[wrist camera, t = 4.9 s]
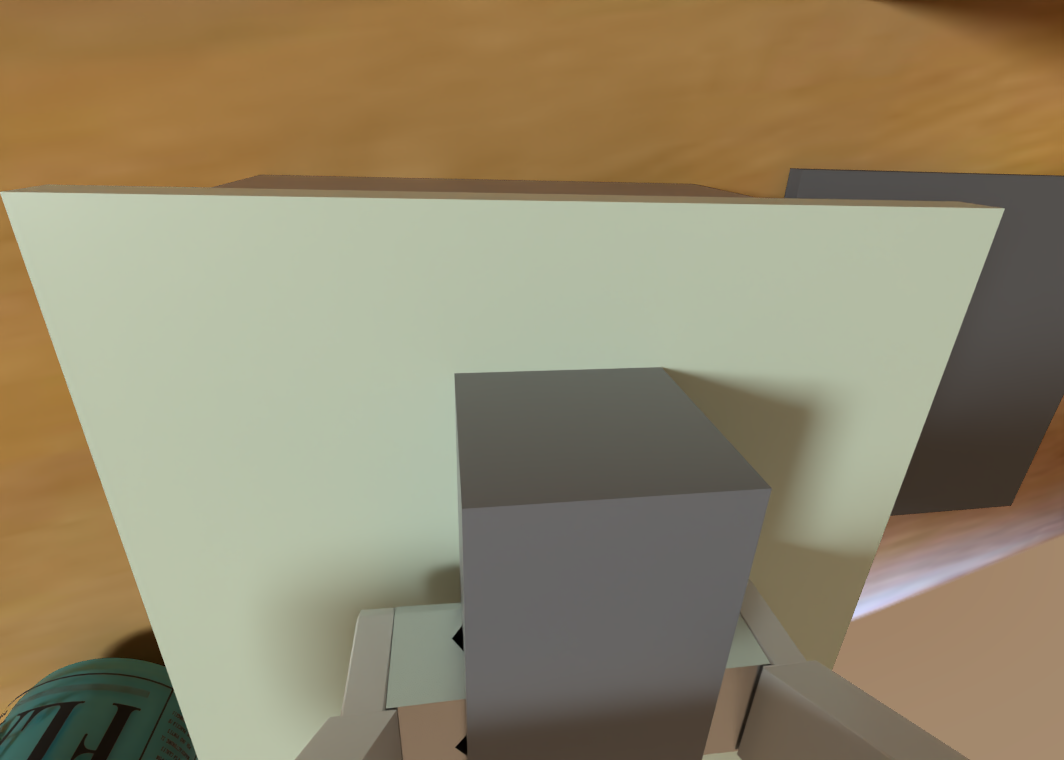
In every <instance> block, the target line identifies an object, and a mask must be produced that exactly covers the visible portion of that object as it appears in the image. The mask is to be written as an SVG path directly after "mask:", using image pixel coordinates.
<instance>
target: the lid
mask: <svg viewBox="0 0 1064 760" xmlns="http://www.w3.org/2000/svg"><path fill="white" fill-rule="evenodd" d="M0 194H1V196H2V199H3V202H4V205H5V208H6V211H7V214H8V216H9V219H10V222H11V225H12V228H13V231H14V234H15V237H16V239H17V242H18V245H19V248H20V251H21V254H22V257H23V259H24V262H25V265H26V268H27V271H28V274H29V277H30V279H31V282H32V285H33V288H34V291H35V294H36V297H37V300H38V302H39V305H40V308H41V311H42V314H43V317H44V320H45V322H46V325H47V328H48V331H49V334H50V337H51V340H52V342H53V345H54V348H55V351H56V354H57V357H58V360H59V363H60V365H61V368H62V371H63V374H64V377H65V380H66V383H67V385H68V388H69V391H70V394H71V397H72V400H73V403H74V405H75V408H76V411H77V414H78V417H79V420H80V423H81V426H82V428H83V431H84V434H85V437H86V440H87V443H88V446H89V448H90V451H91V454H92V457H93V460H94V463H95V466H96V468H97V471H98V474H99V477H100V480H101V483H102V486H103V489H104V491H105V494H106V497H107V500H108V503H109V506H110V509H111V511H112V514H113V517H114V520H115V523H116V526H117V529H118V531H119V534H120V537H121V540H122V543H123V546H124V549H125V552H126V554H127V557H128V560H129V563H130V566H131V569H132V572H133V574H134V577H135V580H136V583H137V586H138V589H139V592H140V594H141V597H142V600H143V603H144V606H145V609H146V612H147V615H148V617H149V620H150V623H151V626H152V629H153V632H154V635H155V637H156V640H157V643H158V646H159V649H160V652H161V655H162V657H163V660H164V663H165V666H166V669H167V672H168V675H169V678H170V680H171V683H172V686H173V689H174V692H175V695H176V698H177V700H178V703H179V706H180V709H181V712H182V715H183V718H184V720H185V723H186V726H187V729H188V732H189V735H190V738H191V741H192V743H193V746H194V749H195V752H196V755H197V758H198V760H295V759H296V757H297V756H298V755H299V754H300V752H301V751H302V750H303V749H304V747H305V746H306V745H307V744H308V743H309V741H310V740H311V739H312V738H313V736H314V735H315V734H316V733H317V731H318V730H319V729H320V728H321V727H322V725H323V724H324V723H325V722H326V720H327V719H328V718H329V717H334V716H340V715H341V709H342V704H343V698H344V692H345V686H346V680H347V674H348V669H349V663H350V657H351V651H352V645H353V639H354V633H355V628H356V622H357V618H358V616H359V614H360V611H361V610H366V609H381V608H396V607H402V606H418V605H433V604H448V603H462V624H463V651H464V670H465V692H466V727H467V735H466V739H467V760H742V759H741V758H740V757H739V756H738V755H737V752H738V751H735V752H726V753H716V754H707V755H703V754H704V750H705V746H706V742H707V738H708V735H709V731H710V727H711V723H712V719H713V715H714V711H715V707H716V703H717V700H718V696H719V692H720V688H721V684H722V680H723V676H724V672H725V669H726V665H727V661H728V657H729V653H730V649H731V645H732V641H733V638H734V634H735V630H736V626H737V622H738V618H739V614H740V610H741V606H742V603H743V599H744V595H745V591H746V587H747V583H748V579H750V580H751V581H752V583H753V584H754V586H755V587H756V588H757V590H758V591H759V593H760V594H761V596H762V597H763V599H764V600H765V601H766V603H767V604H768V606H769V607H770V609H771V610H772V612H773V613H774V614H775V616H776V617H777V619H778V620H779V622H780V623H781V625H782V626H783V627H784V629H785V630H786V632H787V633H788V635H789V636H790V638H791V639H792V640H793V642H794V643H795V645H796V646H797V648H798V649H799V650H800V652H801V653H802V655H803V656H804V658H805V659H806V661H814V660H816V661H818V662H819V663H821V664H823V665H824V666H826V667H827V668H829V669H830V670H832V669H833V666H834V664H835V661H836V659H837V656H838V653H839V651H840V648H841V645H842V643H843V640H844V637H845V634H846V632H847V629H848V627H849V624H850V621H851V619H852V616H853V613H854V611H855V608H856V605H857V602H858V600H859V597H860V594H861V592H862V589H863V586H864V584H865V581H866V578H867V576H868V573H869V570H870V568H871V565H872V562H873V560H874V557H875V554H876V552H877V549H878V546H879V544H880V541H881V538H882V536H883V533H884V530H885V528H886V525H887V522H888V520H889V517H890V514H891V512H892V509H893V506H894V504H895V501H896V498H897V496H898V493H899V490H900V488H901V485H902V482H903V480H904V477H905V474H906V472H907V469H908V466H909V464H910V461H911V458H912V455H913V453H914V450H915V447H916V445H917V442H918V439H919V437H920V434H921V431H922V429H923V426H924V423H925V421H926V418H927V415H928V413H929V410H930V407H931V405H932V402H933V399H934V397H935V394H936V391H937V389H938V386H939V383H940V381H941V378H942V375H943V373H944V370H945V367H946V365H947V362H948V359H949V357H950V354H951V351H952V349H953V346H954V343H955V341H956V338H957V335H958V333H959V330H960V327H961V325H962V322H963V319H964V317H965V314H966V311H967V308H968V306H969V303H970V300H971V298H972V295H973V292H974V290H975V287H976V284H977V282H978V279H979V276H980V274H981V271H982V268H983V266H984V263H985V260H986V258H987V255H988V252H989V250H990V247H991V244H992V242H993V239H994V236H995V234H996V231H997V228H998V226H999V223H1000V220H1001V218H1002V215H1003V212H1004V210H1005V208H998V207H991V206H985V205H978V204H971V203H964V202H958V201H904V200H850V199H796V198H742V197H688V196H634V195H579V194H525V193H471V192H417V191H363V190H308V189H254V188H200V187H146V186H92V185H42V186H35V187H29V188H22V189H16V190H9V191H2V192H0Z"/></svg>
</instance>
